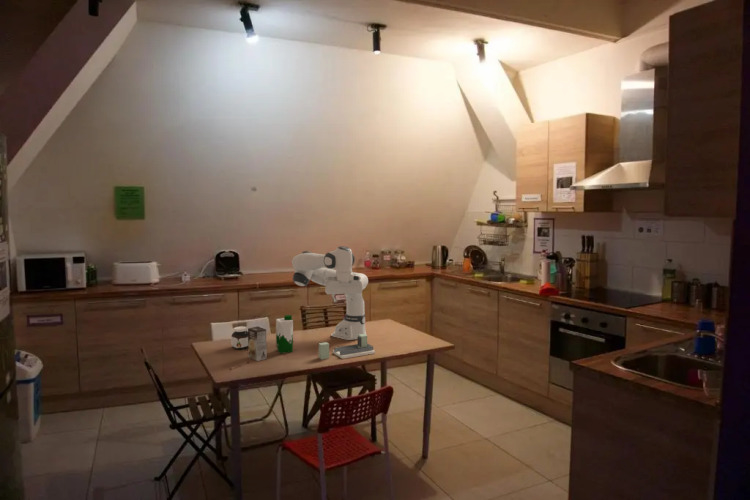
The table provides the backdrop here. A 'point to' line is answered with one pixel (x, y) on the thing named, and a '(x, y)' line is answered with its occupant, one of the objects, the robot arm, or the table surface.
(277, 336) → the milk carton
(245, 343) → the spread jar
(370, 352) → the board
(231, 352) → the table surface
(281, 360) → the table surface
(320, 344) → the block
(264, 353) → the coffee box
